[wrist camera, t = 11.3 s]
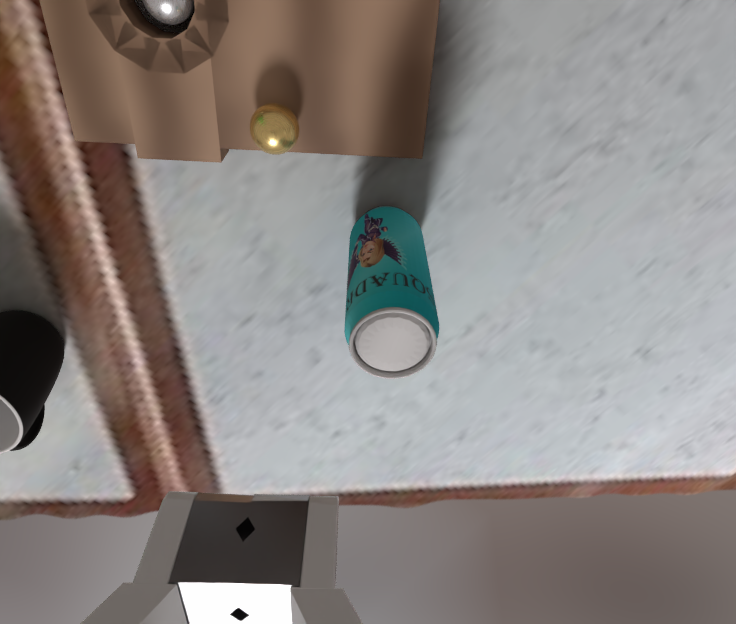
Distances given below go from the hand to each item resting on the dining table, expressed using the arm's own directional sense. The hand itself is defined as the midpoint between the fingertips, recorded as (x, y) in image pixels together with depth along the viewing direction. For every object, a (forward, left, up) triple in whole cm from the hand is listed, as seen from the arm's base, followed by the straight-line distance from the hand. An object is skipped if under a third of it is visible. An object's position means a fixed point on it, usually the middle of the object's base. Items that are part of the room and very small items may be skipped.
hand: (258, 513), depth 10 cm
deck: (+6, -5, -34) cm, 35 cm away
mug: (+28, +25, -34) cm, 51 cm away
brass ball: (+4, +2, -30) cm, 30 cm away
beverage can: (-4, +11, -34) cm, 36 cm away
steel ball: (+10, -5, -32) cm, 34 cm away
